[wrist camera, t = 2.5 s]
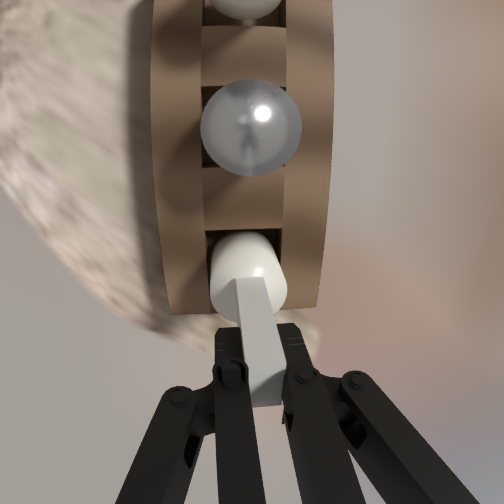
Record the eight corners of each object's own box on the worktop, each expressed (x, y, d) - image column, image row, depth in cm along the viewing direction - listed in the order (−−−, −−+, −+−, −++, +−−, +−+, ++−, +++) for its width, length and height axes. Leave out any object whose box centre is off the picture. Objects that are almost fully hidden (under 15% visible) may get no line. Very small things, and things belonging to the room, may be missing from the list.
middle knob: (205, 90, 15) (200, 79, 11) (282, 90, 15) (302, 81, 11) (206, 163, 17) (201, 177, 13) (281, 162, 17) (300, 176, 13)
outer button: (209, 230, 20) (207, 260, 16) (275, 227, 20) (289, 257, 16) (213, 286, 22) (212, 325, 18) (273, 283, 22) (284, 321, 18)
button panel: (168, -23, 14) (159, -46, 10) (312, -20, 15) (328, -41, 11) (176, 286, 25) (170, 314, 21) (303, 281, 26) (316, 307, 22)
